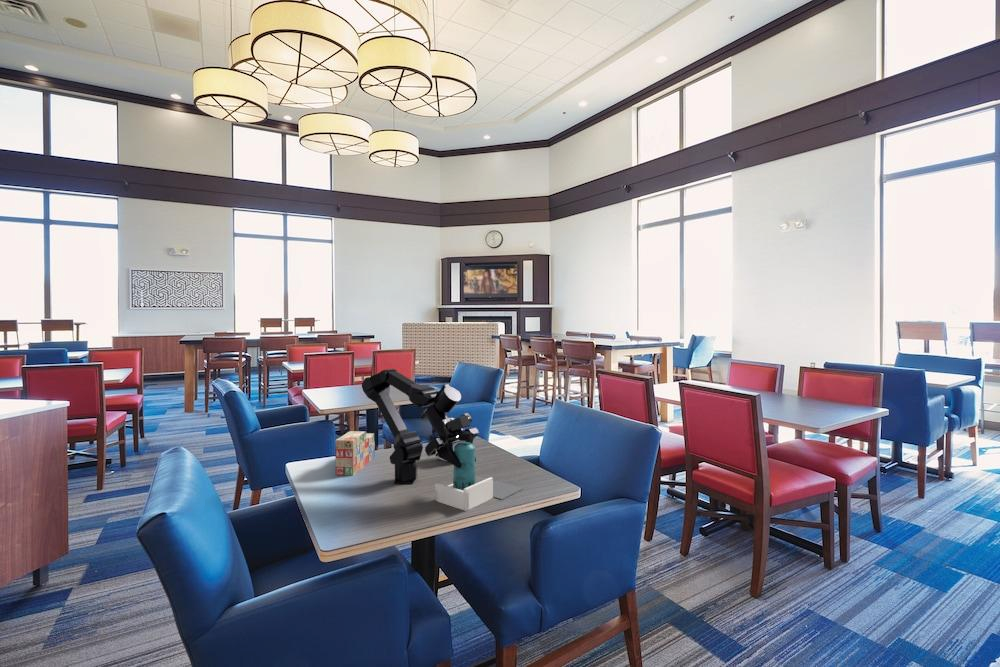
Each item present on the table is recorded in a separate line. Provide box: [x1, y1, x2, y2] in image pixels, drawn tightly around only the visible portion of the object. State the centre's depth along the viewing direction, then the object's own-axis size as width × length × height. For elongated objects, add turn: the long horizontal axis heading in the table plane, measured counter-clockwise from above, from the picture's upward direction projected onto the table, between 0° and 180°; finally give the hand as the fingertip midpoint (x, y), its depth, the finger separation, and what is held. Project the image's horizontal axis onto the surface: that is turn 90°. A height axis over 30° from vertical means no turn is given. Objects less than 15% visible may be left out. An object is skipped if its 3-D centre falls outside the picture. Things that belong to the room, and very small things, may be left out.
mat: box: [475, 476, 524, 501], centre depth 148 cm, size 18×11×1 cm, turn 53°
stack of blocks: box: [334, 430, 376, 477], centre depth 169 cm, size 21×6×12 cm, turn 176°
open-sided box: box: [434, 476, 494, 512], centre depth 138 cm, size 12×12×6 cm
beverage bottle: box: [452, 431, 476, 491], centre depth 138 cm, size 6×7×20 cm
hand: (468, 464), depth 137 cm, fingers closed on beverage bottle, 6 cm apart
